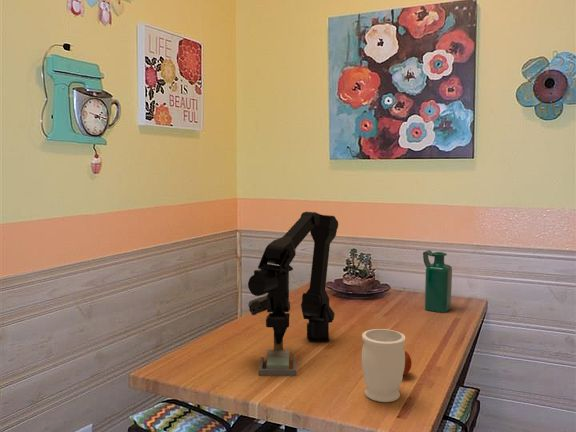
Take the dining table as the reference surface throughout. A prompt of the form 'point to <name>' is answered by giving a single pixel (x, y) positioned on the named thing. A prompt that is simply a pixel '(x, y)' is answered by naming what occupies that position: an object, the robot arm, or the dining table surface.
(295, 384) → the dining table surface
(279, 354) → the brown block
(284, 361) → the tile
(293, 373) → the frame
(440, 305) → the pitcher
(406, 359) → the fruit
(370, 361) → the jar
